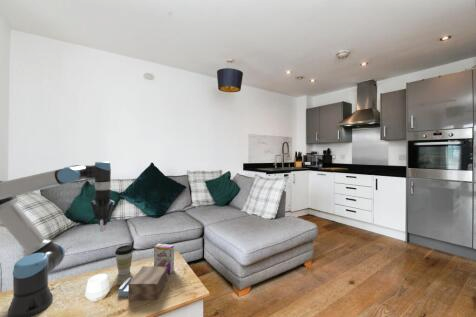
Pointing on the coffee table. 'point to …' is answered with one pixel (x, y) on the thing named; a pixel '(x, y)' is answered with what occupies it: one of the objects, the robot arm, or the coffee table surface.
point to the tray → (124, 288)
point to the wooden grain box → (148, 283)
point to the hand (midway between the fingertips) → (102, 230)
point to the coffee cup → (124, 259)
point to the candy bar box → (164, 256)
